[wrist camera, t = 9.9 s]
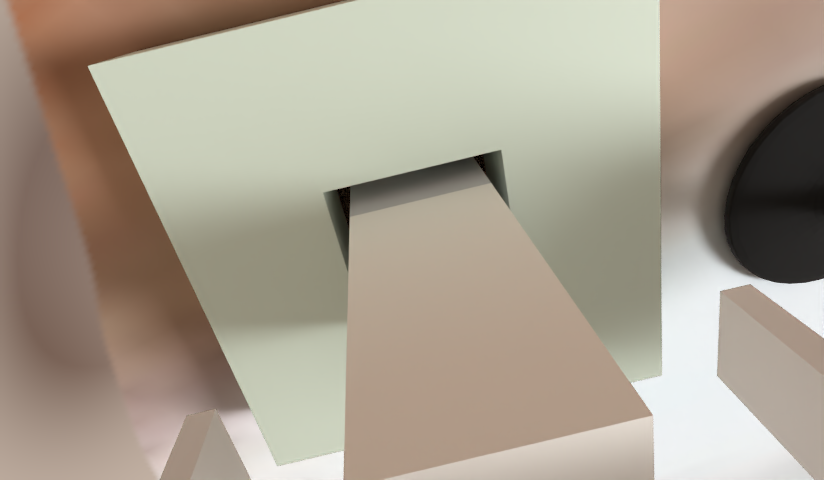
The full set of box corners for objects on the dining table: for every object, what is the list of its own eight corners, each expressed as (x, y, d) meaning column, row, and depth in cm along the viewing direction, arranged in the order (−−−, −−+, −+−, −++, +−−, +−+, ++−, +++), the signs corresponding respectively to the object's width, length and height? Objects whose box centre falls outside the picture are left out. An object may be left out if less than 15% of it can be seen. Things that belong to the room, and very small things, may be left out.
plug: (482, 245, 25) (656, 599, 10) (378, 270, 25) (411, 656, 11) (464, 143, 23) (652, 415, 8) (350, 171, 23) (343, 488, 8)
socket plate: (622, 324, 28) (661, 375, 24) (287, 404, 28) (277, 466, 24) (603, -63, 20) (658, -74, 16) (135, 51, 20) (87, 66, 16)
